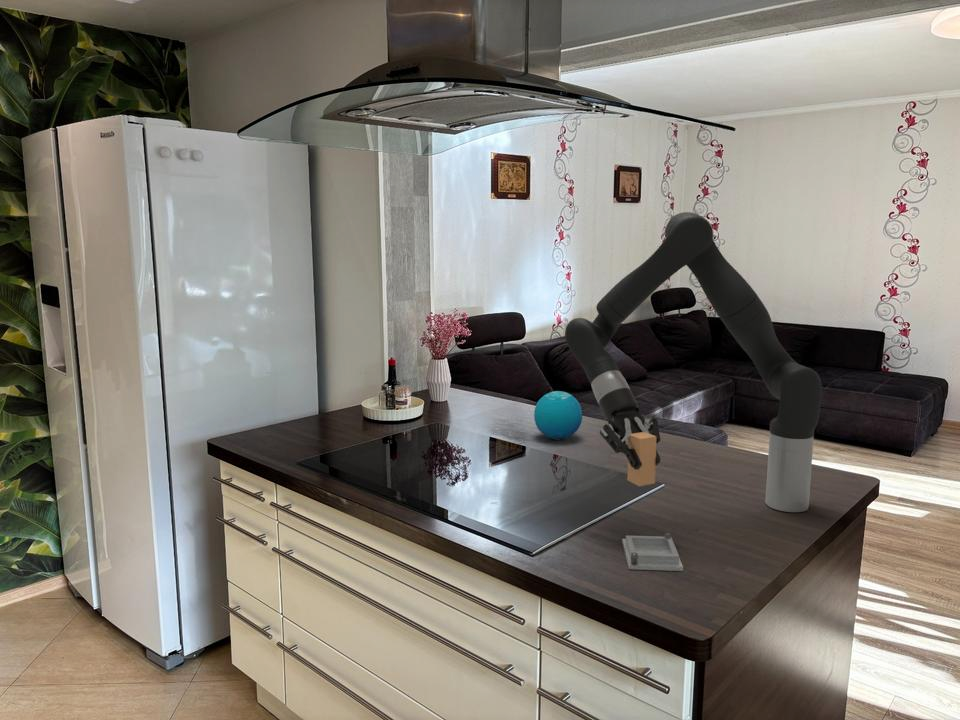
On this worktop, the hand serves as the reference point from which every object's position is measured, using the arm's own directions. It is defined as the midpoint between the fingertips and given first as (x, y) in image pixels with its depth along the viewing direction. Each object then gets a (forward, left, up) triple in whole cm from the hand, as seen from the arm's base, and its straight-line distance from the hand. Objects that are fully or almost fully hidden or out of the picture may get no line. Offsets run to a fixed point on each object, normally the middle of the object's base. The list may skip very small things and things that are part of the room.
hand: (647, 465), depth 144 cm
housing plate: (+8, 0, -16) cm, 18 cm away
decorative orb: (-74, -17, -16) cm, 77 cm away
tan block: (-2, -1, -4) cm, 5 cm away
